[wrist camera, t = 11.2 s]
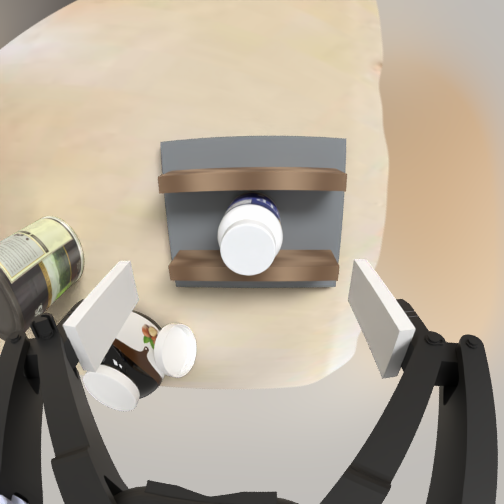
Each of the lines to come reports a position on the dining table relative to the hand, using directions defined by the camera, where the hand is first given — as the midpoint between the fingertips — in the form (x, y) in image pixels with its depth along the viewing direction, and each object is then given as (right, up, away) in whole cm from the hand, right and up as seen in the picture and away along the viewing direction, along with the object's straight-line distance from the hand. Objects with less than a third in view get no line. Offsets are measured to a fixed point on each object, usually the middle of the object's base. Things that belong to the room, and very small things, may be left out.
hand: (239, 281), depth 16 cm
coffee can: (-26, +2, +16) cm, 31 cm away
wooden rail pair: (+1, +5, +12) cm, 13 cm away
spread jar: (-13, -9, +20) cm, 26 cm away
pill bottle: (+1, +5, +12) cm, 14 cm away
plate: (+1, +6, +13) cm, 15 cm away
